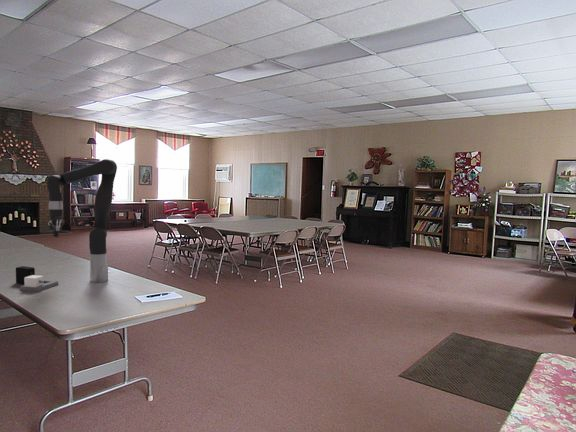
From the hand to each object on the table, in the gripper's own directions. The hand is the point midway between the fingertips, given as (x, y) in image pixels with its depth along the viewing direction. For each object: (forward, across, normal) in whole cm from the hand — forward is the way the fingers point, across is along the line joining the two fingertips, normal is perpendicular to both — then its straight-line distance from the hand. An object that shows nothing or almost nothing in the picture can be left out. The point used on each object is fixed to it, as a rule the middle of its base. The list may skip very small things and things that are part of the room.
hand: (56, 236), depth 250 cm
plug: (+26, -22, -4) cm, 35 cm away
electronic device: (+27, -13, +10) cm, 32 cm away
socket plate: (+27, -18, -4) cm, 33 cm away
